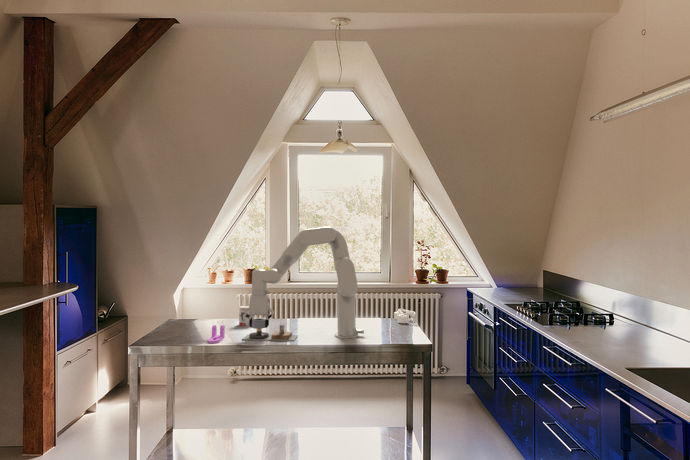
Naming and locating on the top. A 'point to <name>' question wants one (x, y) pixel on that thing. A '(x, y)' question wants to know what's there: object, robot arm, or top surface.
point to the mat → (271, 339)
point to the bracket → (215, 337)
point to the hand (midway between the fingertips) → (259, 326)
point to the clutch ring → (258, 323)
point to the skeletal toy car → (404, 316)
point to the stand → (281, 334)
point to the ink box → (243, 316)
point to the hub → (259, 334)
